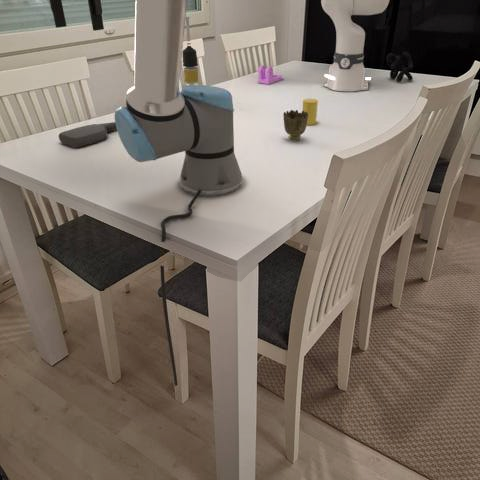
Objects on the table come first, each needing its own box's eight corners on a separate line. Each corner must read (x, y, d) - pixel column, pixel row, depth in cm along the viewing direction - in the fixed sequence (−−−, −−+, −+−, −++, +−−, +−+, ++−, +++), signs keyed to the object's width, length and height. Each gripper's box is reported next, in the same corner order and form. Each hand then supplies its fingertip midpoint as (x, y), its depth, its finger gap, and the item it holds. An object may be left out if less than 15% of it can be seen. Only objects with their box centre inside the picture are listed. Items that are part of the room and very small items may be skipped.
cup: (278, 141, 135) (279, 114, 131) (287, 133, 140) (288, 108, 136) (301, 144, 132) (303, 118, 128) (310, 137, 137) (312, 111, 133)
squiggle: (400, 92, 202) (376, 71, 205) (417, 76, 202) (392, 56, 205) (405, 81, 191) (380, 59, 194) (423, 64, 191) (397, 42, 194)
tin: (314, 120, 152) (316, 98, 148) (317, 125, 148) (318, 102, 144) (300, 121, 152) (302, 98, 148) (302, 125, 148) (304, 102, 144)
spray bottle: (57, 141, 138) (121, 123, 154) (77, 149, 132) (142, 129, 148) (55, 132, 136) (120, 114, 152) (75, 139, 130) (141, 120, 146)
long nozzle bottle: (202, 103, 173) (196, 17, 157) (188, 104, 171) (181, 18, 155) (197, 99, 177) (192, 15, 161) (184, 101, 176) (177, 16, 160)
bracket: (268, 84, 198) (268, 67, 194) (258, 82, 201) (258, 66, 197) (284, 78, 207) (284, 62, 203) (274, 77, 209) (274, 61, 206)
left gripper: (112, -81, 95) (127, 29, 106) (38, -74, 106) (59, 24, 118) (84, -83, 89) (103, 33, 101) (9, -76, 101) (34, 27, 112)
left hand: (79, 28), depth 109 cm, fingers open, 13 cm apart
